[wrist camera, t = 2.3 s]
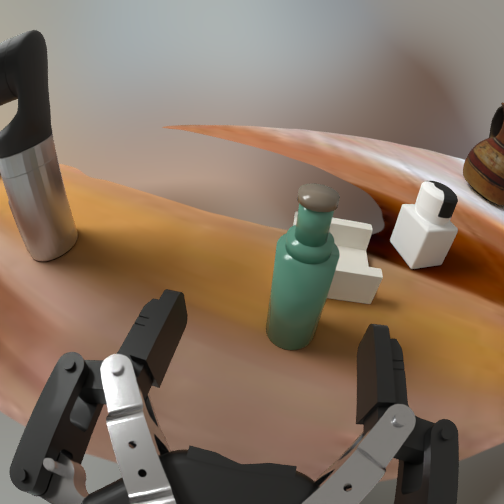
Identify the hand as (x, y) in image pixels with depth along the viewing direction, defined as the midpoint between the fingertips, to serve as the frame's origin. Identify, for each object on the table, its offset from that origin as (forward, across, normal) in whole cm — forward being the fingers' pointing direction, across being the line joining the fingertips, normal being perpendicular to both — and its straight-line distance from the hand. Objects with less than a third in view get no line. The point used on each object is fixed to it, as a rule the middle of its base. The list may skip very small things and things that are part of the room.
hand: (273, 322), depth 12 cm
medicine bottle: (+30, -20, +16) cm, 39 cm away
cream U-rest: (+23, -5, +15) cm, 28 cm away
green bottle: (+12, -1, +16) cm, 20 cm away
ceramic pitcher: (+69, -58, +15) cm, 92 cm away
